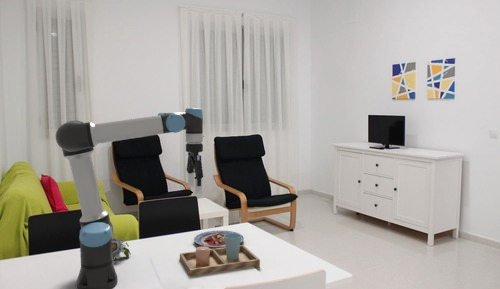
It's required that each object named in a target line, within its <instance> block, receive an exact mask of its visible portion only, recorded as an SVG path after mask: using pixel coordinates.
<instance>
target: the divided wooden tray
mask: <svg viewBox="0 0 500 289" xmlns="http://www.w3.org/2000/svg"><path fill="white" fill-rule="evenodd" d="M179 260H180V262H181V263H182V265H183V266H184V268H185V270H186V271H187V274H188V275H189V276H190V277H193V276H200V275H205V274H212V273H219V272H220V273H221V272H225V271H233V270H238V269H245V268H250V267H253V268H254V269H258V268H259V269H260V268H261V259H259V257H258V256H257V255H255V254H254V253H253V252H252V251H251V250H250V249H249V248H247V247H246V246H245V245H244V244H240V250H239V258H238V259H235V260H230V259H227V256H226V247H216V248H212V249H211V248H210V265H209V266H206V267H198V266H196V250H194V251H189V252H181V253H179Z"/></svg>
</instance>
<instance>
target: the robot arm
mask: <svg viewBox="0 0 500 289" xmlns="http://www.w3.org/2000/svg"><path fill="white" fill-rule="evenodd" d="M184 110H185V111H184V112H165V111H163V112H159V113H158V114H157V115H152V116H151V115H150V116H146V117H145V116H144V117H137V118H131V119H130V118H129V119H124V120H123V119H122V120H115V121H110V122H109V121H108V122H104V123H103V122H100V123H93V122H91V121H89V122H83V121H81V120H77V119H76V120H69V121H67V122H65V123H63V124H61V125H60V126H59V127H58V128H57V130H56V132H55V141H56V144H57V145H58V147H59V148H61V149H62V150H61V151H62V153H63V154H62V155H63V157H64V158H65V159H67V160H68V163H69V166H70V170H71V174H72V178H73V182H74V186H75V192H76V194H77V200H78V203H79V207H80V211H81V214H82V215H81V217H80V219H79V225H80V228H81V229H80V230H79V235H78V236H79V245H80V246H79V248H80V250H79V252H80V269H79V272H78V276H77V279H76V289H113V288H114V287H116V286H117V285H118V279H119V278H118V274H117V272H116V269H115V267H114V263H113V261H112V239H113V237H114V236H113V235H114V226H113V223H112V222H111V219H110V214H109V212H108V211H107V210H105V209H104V205H103V201H102V196H101V192H100V188H99V184H98V180H97V179H98V178H97V175H96V172H95V167H94V166H95V165H94V163H93V158H92V155H93V153H94V151H95V149H94V148H96V147H97V146H98V144H99V145H100V144H105V143H111V142H119V141H123V140H130V139H137V138H138V139H139V138H144V137H150V136H157V135H163V134H171V133H173V134H174V133H175V134H176V133H180V132H181V131H183V130H184V131H185V142H186V144H185V152H186V153H187V164H186V172H187V188H194V190H195V191H194V192H195V194H197V195H198V194H202V193H203V192H202V191H203V190H202V189H203V186H202V185H203V183H202V182H203V178H204V173H203V172H204V171H203V164H202V155H199V154H200V153H202V152H203V151H204V144H203V140H204V139H203V138H204V137H205V136H204V134H203V132H204V131H203V128H204V126H203V125H204V123H203V122H204V118H203V115H204V114H203V109H202V108H199V107H187V108H185V109H184Z"/></svg>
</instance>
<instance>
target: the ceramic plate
mask: <svg viewBox="0 0 500 289" xmlns="http://www.w3.org/2000/svg"><path fill="white" fill-rule="evenodd" d="M228 233H237V234H240V235H241V241H240V244H241V243H242V242H244V239H245V237H244V235H242V234H241V233H238V232H236V231H232V230H209V231H204V232H201V233H198V234H197V235H195V236H194V238H193V241H194V242H195V244H198V245H199V246H201V247H202V246H204V247H209V248H225V247H226V246H225V238H224V235H225V234H228Z"/></svg>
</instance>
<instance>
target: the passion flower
mask: <svg viewBox="0 0 500 289" xmlns="http://www.w3.org/2000/svg"><path fill="white" fill-rule="evenodd" d="M117 238H118V237H117V236H116V235H115V236H113V237H112V262H113V260H114V259H116V260H119V259H120V254H121V253H123V254H124V255H125V257H126V259H129V257H130V256H131V254H132V253H131V251H130V249H129V248H128V247H129V244H128V243H127V242H125V239H120V240H118V239H117ZM126 245H127V247H126Z"/></svg>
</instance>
